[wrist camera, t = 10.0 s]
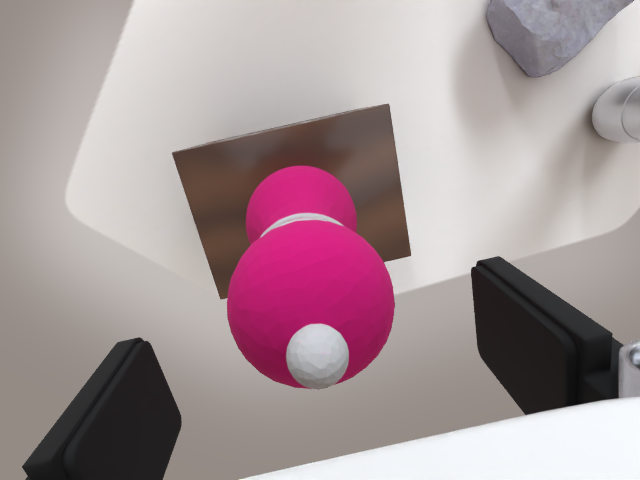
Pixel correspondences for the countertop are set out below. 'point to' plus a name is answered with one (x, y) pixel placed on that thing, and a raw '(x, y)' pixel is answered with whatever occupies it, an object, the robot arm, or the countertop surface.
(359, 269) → the pepper mill
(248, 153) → the shelf
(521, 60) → the stone block
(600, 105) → the silver metal bottle
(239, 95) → the countertop surface
